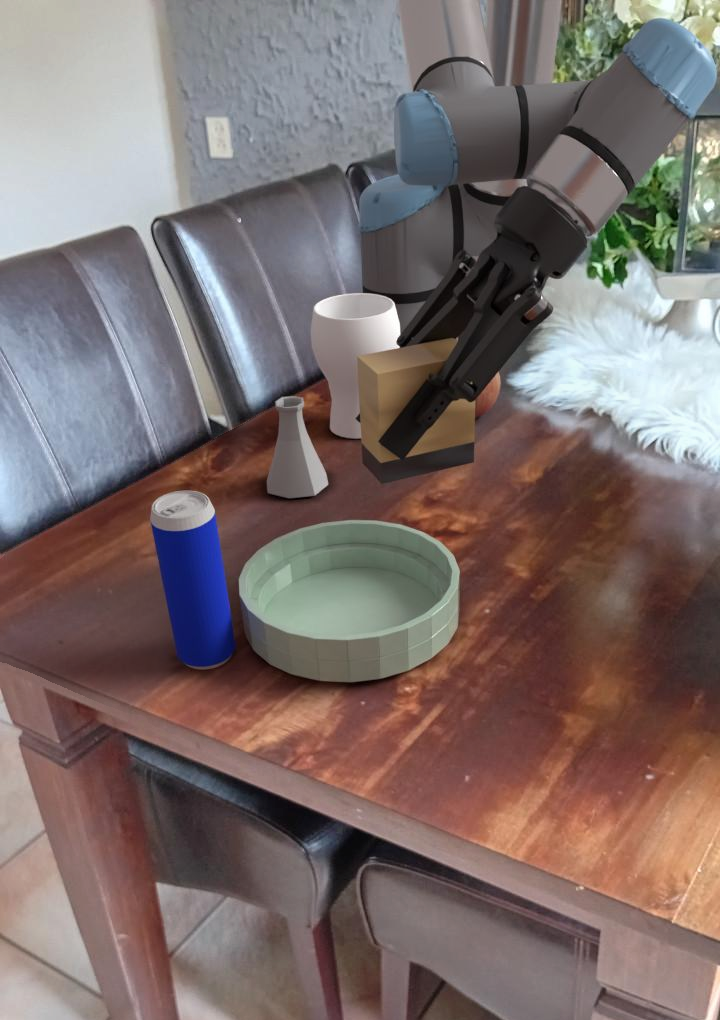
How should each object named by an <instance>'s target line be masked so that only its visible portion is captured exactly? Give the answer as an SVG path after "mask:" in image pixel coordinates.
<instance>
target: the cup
mask: <svg viewBox="0 0 720 1020" xmlns="http://www.w3.org/2000/svg"><path fill="white" fill-rule="evenodd" d="M399 336H400V323H399V319H398V315H397V311H396V307H395V303H394V302H393V301H392V300H391V299H390V298H387V297H385V296H381V295H377V294H369V293H363V292H356V293H354V292H353V293H343V294H339V295H333V296H329V297H326V298H324V299H322V300H320V301H318V302H317V303H316V304H314V306H313V310H312V317H311V323H310V342H311V343H310V344H311V351H312V352H313V353H312V354H313V355H314V358H315V361H316V363H317V366H318V368H319V369H320V371H321V372H322V375H323V376H324V377H325V379H326V381H327V383H328V390H329V393H330V398H331V405H330V415H329V429H330V431H331V433H333V434H334V435H336V436H339V437H341V438H345V439H355V440H357V439H361V423H359V422H358V421H357V420H356V419H355V418H356V417H357V416H358V415H359V413H360V405H359V386H358V367H357V356H361V355H366V354H371V353H376V352H381V351H386V350H392V349H397V348H400V347H399V346H398V345H397V343H396V341H397V339H398V337H399Z"/></svg>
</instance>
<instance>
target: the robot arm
mask: <svg viewBox="0 0 720 1020" xmlns="http://www.w3.org/2000/svg"><path fill="white" fill-rule="evenodd" d="M485 1H486V2H485V3H486V4H485V16H484V17H485V18H484V19H483V13H482V7H481V2H480V0H396V2H397V9H398V15H399V17H398V18H399V22H400V29H401V36H402V37H401V38H402V43H403V49H404V56H405V64H406V70H407V77H408V83H409V84H408V85H409V89H410V90H409V91H410V92H405V93H402V94H400V95H399V96H398V97H397V99H396V100H395V104H394V110H393V143H394V145H393V146H394V154H395V163H396V171H397V174H393V175H390V176H387V177H384V178H381V179H378V180H376V181H375V182H372V183H371V184H369V185H368V186H367V187H366V188H365V189H363V191H362V192H361V195H360V197H359V201H358V206H359V207H358V216H359V217H358V223H357V228H358V231H359V232H360V233H359V235H360V237H359V238H360V258H361V259H360V260H361V261H360V262H361V285H362V293H369V294H377V295H381V296H385V297H387V298H390V299H391V300H392V301H393V302H394V303H395V307H396V311H397V315H398V319H399V323H400V336H399V337H398V339H397V341H396V343H397V345H398V346H399V347H400V348H402V347H407V346H412V345H417V344H423V343H428V342H433V341H438V340H443V339H448V338H454V339H455V340H457V341H458V342H457V344H456V345H455V347H454V349H453V350H452V352H451V354H450V355H449V357H448V359H447V360H446V362H445V364H444V365H443V367H442V368H441V370H440V372H439V373H438V375H436V374H431V373H430V374H429V377H428V378H429V380H430V381H431V382H432V383H434V384H435V385H436V387H435V386H434V385H433V384H432V383H431V382H429V381H428V380H426V381H425V382H424V384H423V385H422V386H421V387H420V389H419V390H418V391H417V392H416V394H415V395H414V396H413V398H412V399H411V400H410V401H409V403H408V404H407V405H406V407H405V408H404V409H403V410H402V412H401V413H400V414H399V415H398V417H397V418H396V419H395V421H394V422H393V423H392V424H391V426H390V427H389V428H388V429H387V431H386V432H385V433H384V435H383V436H382V437H381V438H380V439H379V441H378V442H379V443H380V444H381V445H382V446H384V447H385V448H386V449H388V450H389V451H390V452H392V453H393V454H394V455H396V456H397V457H398V458H400V459H401V460H402V461H403V460H404V459H405V457H406V456H407V455H408V454H409V452H410V451H411V450H412V448H413V447H414V446H415V445H416V443H417V442H418V441H419V440H420V438H421V437H422V436H423V435H424V433H425V432H426V431H427V430H428V429H429V428H431V427H432V426H433V425H434V423H435V422H436V420H438V418H439V416H441V415H442V413H443V412H444V411H445V410H446V408H447V407H448V406H449V405H450V403H451V402H452V401H453V400H454V401H457V400H459V399H466V400H467V401H468V402H473V401H475V400H476V399H477V397H478V396H479V395H480V394H481V393H482V391H483V390H484V389H485V388H486V386H487V385H488V384H489V383H490V381H491V380H492V379H493V378H494V377H495V375H496V374H497V373H498V372H499V373H500V370H502V368H503V366H505V364H506V363H507V362H508V361H509V360H510V358H511V357H512V356H513V354H514V353H515V352H516V351H517V349H519V347H520V346H521V345H522V344H523V342H525V340H526V338H527V337H528V336H529V335H530V334H531V333H532V331H533V330H534V329H535V328H537V327H538V326H539V325H541V324H542V323H543V322H544V321H545V320H546V319H548V318H549V317H550V316H551V315H552V313H553V311H554V306H553V305H552V304H551V303H550V302H549V301H548V300H547V299H546V297H545V296H544V294H543V290H544V289H545V286H546V283H547V281H548V279H549V278H551V279H554V280H560V279H563V278H564V277H565V276H566V275H567V274H568V273H569V271H570V270H571V269H572V268H573V266H574V265H575V264H576V262H578V260H579V259H580V258H581V256H582V255H583V254H584V252H585V251H586V250H587V249H588V238H591V237H596V236H597V235H598V234H599V233H600V232H601V230H603V228H604V227H605V226H606V224H607V223H608V221H609V220H610V219H611V217H612V216H613V215H614V214H615V212H616V211H617V210H618V209H619V207H620V206H621V205H622V203H624V201H625V199H626V198H628V197H629V195H630V194H631V193H632V191H634V188H636V186H637V185H638V184H639V183H640V182H641V180H642V179H643V178H644V177H645V175H646V174H647V173H648V172H649V170H650V169H651V168H653V166H654V164H655V163H656V162H657V161H658V159H659V158H660V157H661V155H662V154H663V153H664V152H665V151H666V150H667V148H668V147H669V146H670V145H671V143H672V142H673V141H674V140H675V138H676V137H677V136H678V135H679V134H680V132H681V131H682V130H683V129H684V128H685V127H686V125H688V123H689V122H690V121H691V120H694V118H695V117H696V116H697V112H698V110H699V109H700V108H701V106H702V104H703V103H704V101H705V100H706V99H707V97H708V96H709V95H710V93H711V92H712V91H713V90H714V87H715V85H716V82H717V77H718V72H717V65H716V63H715V61H714V58H713V56H712V54H711V52H710V51H709V50H708V48H707V47H706V46H705V45H704V43H703V42H702V41H701V40H700V39H699V38H698V37H697V36H696V35H695V34H694V33H693V32H691V31H690V30H689V29H687V28H686V27H684V25H682V24H680V23H679V22H676V21H674V20H671V19H669V18H665V17H664V18H663V17H655V18H651V19H650V20H648V21H646V22H645V23H644V24H643V25H642V26H641V28H640V29H639V30H638V31H637V32H636V33H635V34H634V36H633V37H632V38H631V39H630V40H629V41H628V42H626V43H625V44H624V46H623V47H622V51H621V52H620V53H619V55H618V56H617V57H616V58H615V60H614V61H613V62H612V63H611V64H610V66H608V68H606V70H605V71H603V72H601V73H600V74H598V75H597V76H596V77H594V78H592V79H588V80H574V81H562V82H561V81H560V82H553V78H554V69H555V62H556V61H555V60H556V55H557V54H556V53H557V44H558V38H559V37H558V35H559V27H560V19H561V11H562V3H563V0H485ZM460 335H461V336H460ZM459 336H460V337H459ZM452 375H453V376H452ZM471 382H472V384H470V383H471ZM355 419H356V420H357V421H358V422H359V423H360V413H359V415H358V416H357V417H356V418H355Z"/></svg>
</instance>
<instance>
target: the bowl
mask: <svg viewBox="0 0 720 1020" xmlns="http://www.w3.org/2000/svg"><path fill="white" fill-rule="evenodd" d="M460 575H461V571H460V567H459V565H458V563H457V560H456V558H455V555H454V554H453V552H451V551H450V550H449V549H448V548H447V547H446V545H444V544H443V542H441V541H440V540H438V539H436V538H435V537H433V536H432V535H430V534H428V533H426V532H424V531H423V530H422V531H421V530H419V529H416V528H412V527H410V526H406V525H405V524H401V523H395V522H387V521H382V520H371V519H369V520H366V519H346V520H338V521H329V522H321V523H317V524H313V525H308V526H304V527H300V528H298V529H295V530H293V531H290V532H288V533H286V534H283V535H280V536H278V537H277V538H275V539H273V540H271V541H270V542H268V543H266V544H265V545H264V546H262V547H260V548H259V549H257V550H256V551H255V552H254V554H253V555H252V556H251V557H250V558H249V559H248V560H247V561H246V562H245V563H244V565H243V568H242V570H241V573H240V575H239V577H238V596H239V602H240V610H241V616H242V623H243V629H244V636H245V637H246V640H247V641H248V643H249V645H250V647H251V649H252V650H253V651H254V652H255V653H256V654H257V655H258V656H259V657H260V658H262V659H263V660H264V661H265V662H266V663H268V664H269V665H270V666H273V667H275V668H277V669H279V670H281V671H283V672H285V673H287V674H289V675H293V676H296V677H301V678H305V679H310V680H314V681H319V682H335V683H357V682H365V681H373V680H381V679H384V678H388V677H393V676H395V675H399V674H401V673H406V672H408V671H411V670H412V669H414V668H416V667H418V666H420V665H423V664H424V663H426V662H427V661H429V660H431V659H433V658H434V657H436V655H438V653H440V652H441V651H442V650H443V649H444V648H445V647H447V646H448V644H449V643H450V642H451V640H452V638H453V637H454V634H455V633H456V631H457V629H458V627H459V618H460V599H461V597H460V596H461V595H460V593H461V591H460V585H461V584H460V583H461V581H460V579H461V576H460Z"/></svg>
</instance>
